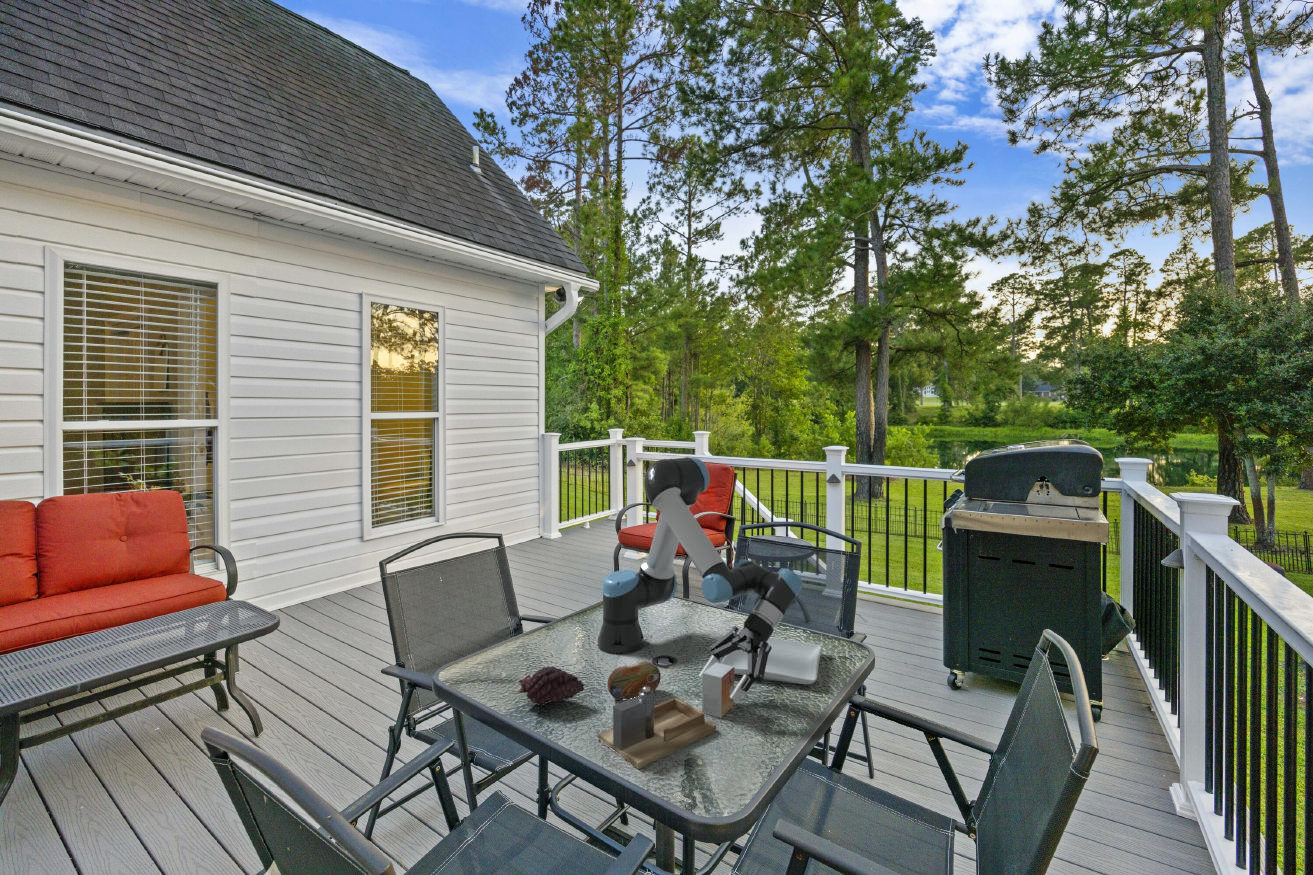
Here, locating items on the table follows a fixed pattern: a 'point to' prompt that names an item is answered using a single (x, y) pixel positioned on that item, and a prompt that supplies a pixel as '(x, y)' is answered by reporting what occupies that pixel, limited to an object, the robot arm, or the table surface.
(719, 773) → the table surface
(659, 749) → the tan wooden flat tray
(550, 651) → the table surface
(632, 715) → the hinge leaf
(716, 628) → the table surface
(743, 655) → the square plate
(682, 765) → the table surface
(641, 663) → the tin
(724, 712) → the small box
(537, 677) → the pine cone
